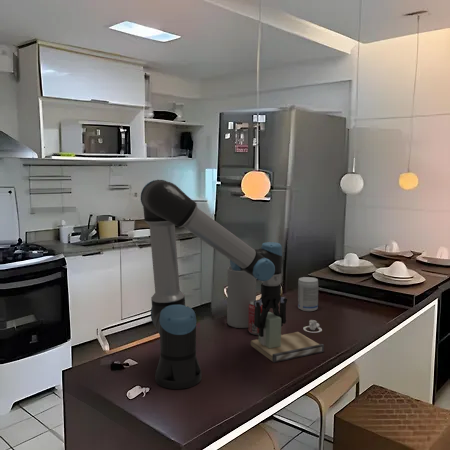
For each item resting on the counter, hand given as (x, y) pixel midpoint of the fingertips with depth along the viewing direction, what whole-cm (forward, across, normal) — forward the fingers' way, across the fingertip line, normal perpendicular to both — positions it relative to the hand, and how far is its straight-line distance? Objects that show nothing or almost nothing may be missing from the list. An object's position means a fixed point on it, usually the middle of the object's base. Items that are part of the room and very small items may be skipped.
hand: (269, 342), depth 179 cm
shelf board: (+2, +6, -2) cm, 7 cm away
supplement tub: (+2, +42, +34) cm, 54 cm away
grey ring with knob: (+3, +30, +9) cm, 32 cm away
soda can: (+3, +4, +17) cm, 18 cm away
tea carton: (0, 0, 0) cm, 0 cm away
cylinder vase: (+3, +3, +29) cm, 29 cm away
